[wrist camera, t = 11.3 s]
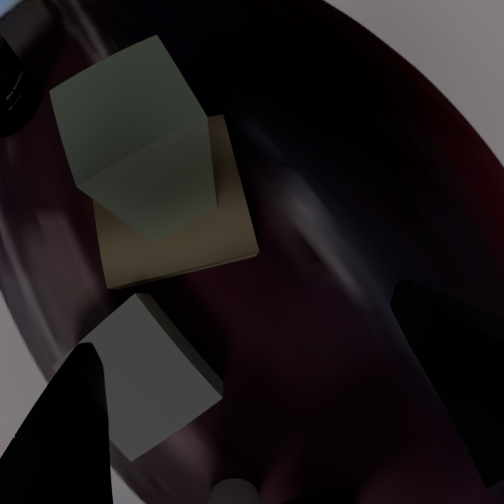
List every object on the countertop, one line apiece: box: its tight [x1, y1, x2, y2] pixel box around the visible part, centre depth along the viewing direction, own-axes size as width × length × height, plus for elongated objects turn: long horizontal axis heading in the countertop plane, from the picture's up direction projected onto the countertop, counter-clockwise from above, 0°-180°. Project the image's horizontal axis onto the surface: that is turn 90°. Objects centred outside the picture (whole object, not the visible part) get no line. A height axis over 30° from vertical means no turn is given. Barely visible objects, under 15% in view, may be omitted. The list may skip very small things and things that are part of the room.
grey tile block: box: [52, 293, 223, 461], centre depth 19 cm, size 8×8×4 cm
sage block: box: [49, 35, 217, 242], centre depth 15 cm, size 5×5×11 cm
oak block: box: [93, 114, 259, 289], centre depth 22 cm, size 10×10×3 cm
